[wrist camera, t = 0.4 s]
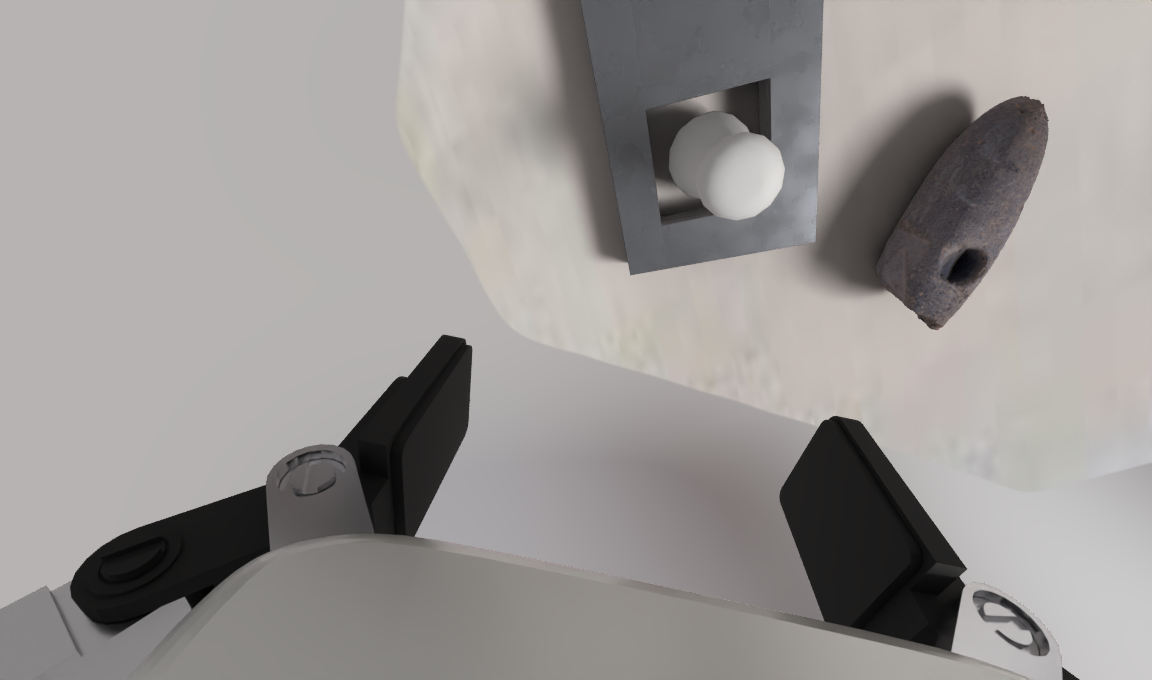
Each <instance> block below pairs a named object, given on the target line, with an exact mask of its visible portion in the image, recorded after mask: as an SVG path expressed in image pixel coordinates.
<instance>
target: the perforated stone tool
mask: <svg viewBox="0 0 1152 680" xmlns="http://www.w3.org/2000/svg"><path fill="white" fill-rule="evenodd" d="M1047 119H1048V117H1047V114H1046V112H1045V108H1044V104H1041V102H1040V101H1039V100H1035V99H1030V98H1029V97H1026V96H1024V97H1023V96H1019V97H1016V98H1011V99H1009V100H1007V101H1004V102H1002V103H1000V104H998V105H996V106H995V107H993V108H992V109H990V110H989V111H987V112H986V113H984V114H983V115H982V116H980V117H979V118H978V119H977V120H976V121H974V122H973V123H972V124H971V125H970V126H968V127H967V128H966V129H965V130H964V131H963V132H962V133H961V134H960V135H959V136H958V137H957V138H956V139H955V140H954V141H953V142H952V144H951V145H950V146H949V147H948V148H947V149H946V150H945V152H944V153H943V154H942V155H941V157H940V158H939V159H938V161H937V162H936V163H935V165H934V166H933V168H932V169H931V171H930V172H929V174H928V175H927V176H926V178H925V180H924V181H923V183H922V184H921V186H920V188H919V189H918V191H917V192H916V194H915V195H914V197H913V198H912V200H911V202H910V204H909V205H908V207H907V208H906V210H905V212H904V214H903V215H902V217H901V219H900V220H899V222H898V223H897V225H896V227H895V229H894V230H893V234H892V235H891V236H890V237H889V239H888V241H887V242H886V246H885V248H884V250H883V252H882V254H881V256H880V258H879V260H878V262H877V267H876V271H875V272H876V274H878V275H879V278H880V282H881V284H882V285H883V286H884V287H885V288H886V290H888V291H889V292H891V293H892V294H893V295H894V296H895V297H897V298H898V299H899V300H900V301H902V302H903V303H904V305H905V306H907V308H909V309H910V310H913V311H914V312H915V313H916V314H917V316H918V319H921V320H922V321H923V322H925V323H926V324H927V326H928V327H929V328H930V329H934V330H938V329H939V328H941V327H943V326H944V325H945V324H946V322H947V321H948V320H949V319H950V318H951V317H952V316H953V315H954V314H955V313H956V312H957V311H958V310H959V308H960V307H961V306H962V305H963V303H964V302H965V301H966V300H967V298H968V297H969V296H970V295H971V293H972V292H973V291H974V290H975V288H976V287H977V286H978V284H979V283H980V282H981V280H982V279H983V278H984V276H985V275H986V273H987V272H988V270H989V269H990V268H991V266H992V264H993V263H994V261H995V260H996V258H997V256H998V255H999V252H1000V251H1001V250H1002V248H1003V247H1004V245H1005V243H1006V241H1007V239H1008V238H1009V236H1010V234H1011V232H1012V230H1013V228H1014V227H1015V225H1016V223H1017V221H1018V219H1019V216H1020V214H1021V211H1022V209H1023V206H1024V203H1025V202H1026V200H1027V199H1028V197H1029V195H1030V192H1031V190H1032V187H1033V184H1034V182H1035V180H1036V177H1037V175H1038V173H1039V169H1040V166H1041V164H1042V160H1043V157H1044V154H1045V149H1046V144H1047V140H1048V122H1047V121H1049V120H1047Z"/></svg>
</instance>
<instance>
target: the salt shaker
mask: <svg viewBox="0 0 1152 680" xmlns="http://www.w3.org/2000/svg"><path fill="white" fill-rule="evenodd" d="M669 171H670V173H671V176H672V178H673V180H674V183H675V185H676V186H677V187H678V188H679V189H681V190H682V191H683V192H684V193H685V194H686V195H688V196H689V197H694V198H699V199H701V201H702V203H703V206H705V207H706V208H707V209H708V210H709V211H710V212H712V213H713V214H714V215H715V216H716V217H720V218H726V219H731V220H736V221H737V220H741V219H746V218H750V217H755V216H756V215H757V214H759V213H760V212H761V211H763V210H764V209H766V208H767V207H768V206H770V205H771V203H772V202H773V200H774V199H775V197H776V196H777V194H778V193H779V191H780V190H781V188H782V184H783V178H784V172H785V167H784V164H783V160H782V157H781V153H780V150H779V149H778V148H777V147H776V146H775V145H774V144H773V143H772V142H771V141H769V140H768V139H767V138H766V137H765V136H763V135H758V134H754V133H750V132H749V130H748V128H747V127H746V126H745V125H744V124H743V123H742V122H741V121H740V120H738V119H737V118H736V117H735V116H734V115H731V114H727V113H722V112H718V111H712V112H709V113H706V114H702V115H699V116H696V117H694V118H693V119H692V120H691V121H689V122H688V123H687V124H686V125H685V126H683V127H682V128H681V129H680V130H679V131H678V133H677V135H676V137H675V139H674V142H673V144H672V146H671V148H670V154H669Z"/></svg>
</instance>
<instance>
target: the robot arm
mask: <svg viewBox="0 0 1152 680" xmlns="http://www.w3.org/2000/svg"><path fill="white" fill-rule="evenodd" d="M471 365H472V346H470V345H466V340H465V339H462V338H458V337H453V336H448V335H442V336H441V337H440V339H439V340H438V341H437V342H436V343H435V345H434V346H433V347H432V348H431V349H430V351H429V352H428V353H427V354H426V356H425V357H424V358H423V359H422V360H421V362H420V363H419V364H418V365H417V367H416V368H415V369H414V370H413V371H412V373H411V374H410V375H409V376H408V378H407V377H403V376H402V377H398V378H397V379H396V380H395V381H394V382H393V383H392V384H391V385H390V386H389V387H388V389H387V390H386V391H385V392H384V393H383V395H382V396H381V397H380V398H379V399H378V400H377V402H376V403H375V404H374V405H373V406H372V407H371V409H370V410H369V411H368V412H367V413H366V415H364V417H363V418H362V419H361V420H360V421H359V423H358V424H357V425H356V426H355V427H354V428H353V429H352V431H351V432H350V433H349V434H348V435H347V436H346V438H345V439H344V440H343V441H342V442H341V444H340V445H339V446H335V445H322V444H321V445H314V446H309V447H305V448H302V449H299V450H297V451H295V452H293V453H291V454H289V455H287V456H285V457H284V458H282V459H281V460H280V461H279V462H278V463H277V464H276V465H275V466H273V468H272V470H271V471H270V473H269V474H268V476H267V481H266V485H265V486H261V487H258V488H255V489H252V490H249V491H247V492H243V493H240V494H237V495H234V496H231V497H228V498H225V499H222V500H219V501H216V502H213V503H210V504H208V505H204V506H202V507H199V508H196V509H193V510H190V511H187V512H184V513H181V514H178V515H175V516H172V517H169V518H166V519H163V520H160V521H157V522H154V523H151V524H148V525H145V526H142V527H139V528H136V529H134V530H132V531H129V532H127V533H124V534H122V535H120V536H118V537H116V538H115V539H113V540H112V541H110V542H108V543H106V544H105V545H103V546H102V547H100V548H99V549H98V550H97V551H95V552H94V553H93V554H92V555H91V556H90V557H88V558H87V559H86V560H85V562H84V563H83V564H82V565H81V566H80V568H79V569H78V570H77V572H76V573H75V575H74V577H73V580H72V581H70V582H68V583H66V584H64V585H63V586H61V587H59V588H57V589H55V590H53V591H50V590H49V588H48V587H47V586H45V587H42V588H40V589H39V590H37V591H35V592H33V593H31V594H29V595H27V596H25V597H23V598H21V599H19V600H17V601H15V602H14V603H11V604H10V605H8V606H6V607H4V608H2V609H0V680H125V679H126V680H1079V679H1078V678H1076V677H1075V676H1074V675H1072V674H1071V673H1069V672H1068V671H1067V670H1065V669H1064V668H1063V667H1062V657H1061V653H1060V649H1059V645H1058V644H1057V642H1056V640H1055V639H1054V637H1053V635H1052V634H1051V632H1050V631H1049V630H1048V629H1047V628H1046V626H1045V625H1044V624H1043V623H1042V622H1041V621H1040V619H1038V618H1037V617H1036V616H1035V615H1034V614H1033V613H1032V612H1030V610H1029V609H1028V608H1026V607H1025V606H1024V605H1022V604H1021V603H1020V602H1018V601H1017V600H1016V599H1014V598H1013V597H1011V596H1010V595H1008V594H1006V593H1004V592H1003V591H1001V590H999V589H997V588H995V587H992V586H989V585H987V584H984V583H977V582H972V583H969V584H966V585H964V583H963V582H962V580H961V579H960V577H959V576H960V575H961V574H962V573H963V572H964V571H966V570H967V568H966V567H965V565H964V564H963V563H962V561H961V560H960V558H959V557H958V556H957V554H956V553H955V552H954V550H953V549H952V547H951V546H950V545H949V543H948V542H947V540H946V539H945V538H944V536H943V535H942V534H941V532H940V531H939V529H938V528H937V527H936V525H935V524H934V522H933V521H932V520H931V518H930V517H929V516H928V514H927V513H926V512H925V510H924V509H923V507H922V506H921V504H920V503H919V502H918V500H917V499H916V498H915V496H914V495H913V493H912V492H911V491H910V489H909V488H908V486H907V485H906V484H905V482H904V481H903V480H902V478H901V477H900V475H899V474H898V473H897V471H896V470H895V468H894V467H893V466H892V464H891V463H890V462H889V460H888V459H887V457H886V456H885V455H884V453H883V452H882V450H881V449H880V448H879V446H878V445H877V444H876V442H875V441H874V439H873V438H872V437H871V435H870V434H869V432H868V431H867V430H866V428H865V427H864V426H863V424H862V423H861V422H860V421H857V420H853V419H848V418H843V417H839V416H833V417H831V418H830V419H829V420H824V421H823V422H822V423H821V424H820V426H819V428H818V429H817V431H816V433H815V434H814V436H813V437H812V439H811V441H810V443H809V444H808V446H807V448H806V449H805V451H804V452H803V454H802V456H801V457H800V459H799V460H798V462H797V464H796V465H795V467H794V469H793V470H792V472H791V474H790V475H789V477H788V478H787V480H786V482H785V484H784V485H783V487H782V489H781V491H780V503H781V506H782V508H783V511H784V513H785V516H786V519H787V522H788V524H789V527H790V530H791V532H792V535H793V538H794V540H795V543H796V546H797V548H798V551H799V554H800V557H801V559H802V562H803V565H804V567H805V570H806V573H807V575H808V578H809V580H810V583H811V586H812V589H813V591H814V594H815V597H816V599H817V602H818V605H819V607H820V610H821V613H822V615H823V618H824V621H825V622H824V621H820V620H815V619H811V618H806V617H801V616H797V615H793V614H788V613H783V612H779V611H775V610H770V609H765V608H761V607H756V606H752V605H747V604H743V603H738V602H733V601H728V600H724V599H719V598H715V597H710V596H706V595H701V594H696V593H692V592H687V591H682V590H677V589H673V588H668V587H664V586H659V585H654V584H650V583H645V582H640V581H636V580H631V579H626V578H622V577H617V576H612V575H607V574H603V573H598V572H593V571H588V570H584V569H579V568H574V567H569V566H565V565H560V564H555V563H550V562H545V561H541V560H536V559H531V558H526V557H522V556H517V555H512V554H507V553H502V552H496V551H491V550H486V549H481V548H476V547H471V546H465V545H460V544H455V543H449V542H444V541H439V540H432V539H424V538H418V537H414V536H415V534H416V532H417V530H418V528H419V526H420V524H421V522H422V520H423V518H424V516H425V514H426V512H427V510H428V508H429V506H430V504H431V502H432V500H433V498H434V496H435V494H436V492H437V490H438V488H439V486H440V484H441V482H442V480H443V478H444V476H445V474H446V472H447V470H448V468H449V467H450V464H451V462H452V461H453V459H454V456H455V454H456V453H457V451H458V448H459V446H460V445H461V442H462V441H463V439H464V437H465V434H466V431H467V427H468V420H469V402H470V383H471Z"/></svg>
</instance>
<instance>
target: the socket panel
mask: <svg viewBox="0 0 1152 680" xmlns="http://www.w3.org/2000/svg"><path fill="white" fill-rule="evenodd" d="M580 1H581V6H582V12H583V17H584V23H585V28H586V34H587V39H588V45H589V50H590V56H591V61H592V67H593V72H594V78H595V83H596V89H597V94H598V100H599V105H600V111H601V116H602V122H603V127H604V133H605V138H606V144H607V149H608V155H609V160H610V166H611V171H612V177H613V182H614V188H615V193H616V199H617V204H618V210H619V215H620V221H621V226H622V232H623V237H624V243H625V248H626V254H627V259H628V265H629V270H630V275H635V274H640V273H646V272H651V271H657V270H663V269H668V268H674V267H679V266H685V265H691V264H696V263H702V262H707V261H713V260H718V259H724V258H730V257H735V256H741V255H746V254H752V253H758V252H763V251H769V250H774V249H780V248H786V247H791V246H797V245H802V244H808V243H814V242H816V220H817V188H818V157H819V125H820V93H821V62H822V30H823V0H580ZM756 81H758V88H759V124H760V135H763V136H765V137H766V138H767V139H768V140H769V141H771V142H772V143H773V144H774V145H775V146H776V147H777V148H778V149H779V150H780V153H781V157H782V160H783V164H784V167H785V172H784V178H783V184H782V188H781V190H780V191H779V193H778V194H777V196H776V197H775V199H774V200H773V202H772V203H771V205H770V206H768V207H767V208H766V209H764V210H763V211H761V212H760V213H759V214H757V215H756V216H755V217H750V218H746V219H741V220H737V221H736V220H731V219H726V218H720V217H716V216H715V215H714V214H713V213H712V212H710V211H709V210H708V209H707V208H706V207H704V208H700V209H695V210H690V211H685V212H680V213H675V214H670V215H665V216H660V211H659V204H658V197H657V189H656V182H655V175H654V167H653V160H652V153H651V146H650V138H649V131H648V124H647V117H646V110H648V109H652V108H656V107H660V106H664V105H668V104H672V103H675V102H679V101H683V100H687V99H691V98H695V97H699V96H702V95H706V94H710V93H714V92H718V91H722V90H725V89H729V88H733V87H737V86H741V85H745V84H749V83H752V82H756Z"/></svg>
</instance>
